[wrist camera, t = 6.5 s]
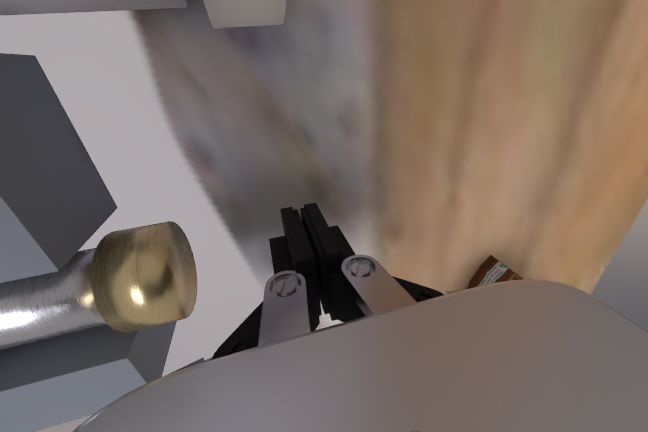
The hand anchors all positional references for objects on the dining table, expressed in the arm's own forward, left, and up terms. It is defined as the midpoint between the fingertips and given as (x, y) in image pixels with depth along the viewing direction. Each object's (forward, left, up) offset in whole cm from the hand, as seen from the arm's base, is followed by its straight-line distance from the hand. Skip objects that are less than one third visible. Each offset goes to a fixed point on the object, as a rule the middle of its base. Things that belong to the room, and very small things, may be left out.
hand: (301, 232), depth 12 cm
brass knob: (0, -10, -1) cm, 10 cm away
